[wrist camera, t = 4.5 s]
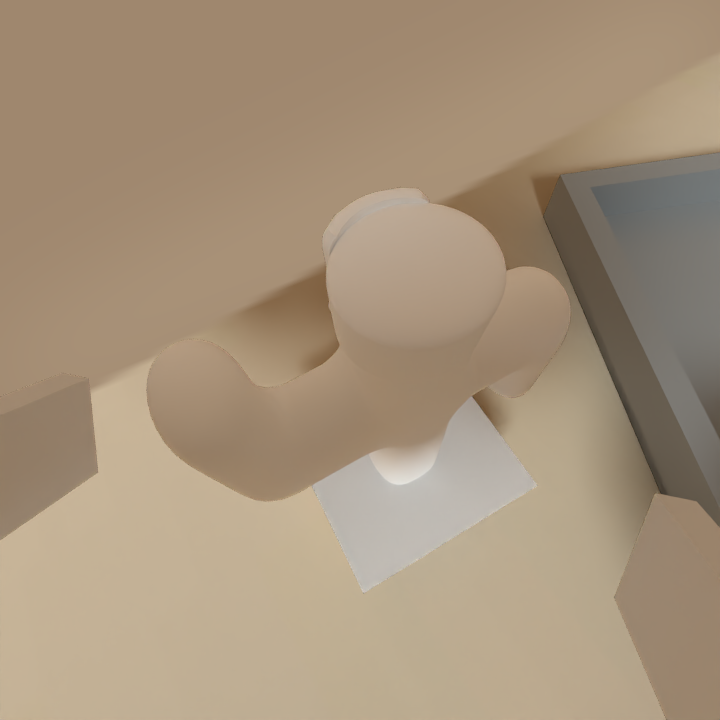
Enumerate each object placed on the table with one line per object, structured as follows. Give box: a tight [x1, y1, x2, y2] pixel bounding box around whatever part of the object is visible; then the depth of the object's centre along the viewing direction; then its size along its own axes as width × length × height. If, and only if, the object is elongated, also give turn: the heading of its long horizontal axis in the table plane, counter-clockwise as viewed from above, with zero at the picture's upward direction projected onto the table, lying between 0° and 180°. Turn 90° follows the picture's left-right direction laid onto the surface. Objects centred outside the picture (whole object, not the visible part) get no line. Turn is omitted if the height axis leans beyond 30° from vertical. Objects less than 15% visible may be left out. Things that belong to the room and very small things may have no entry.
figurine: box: [146, 187, 571, 594], centre depth 13 cm, size 7×9×15 cm
